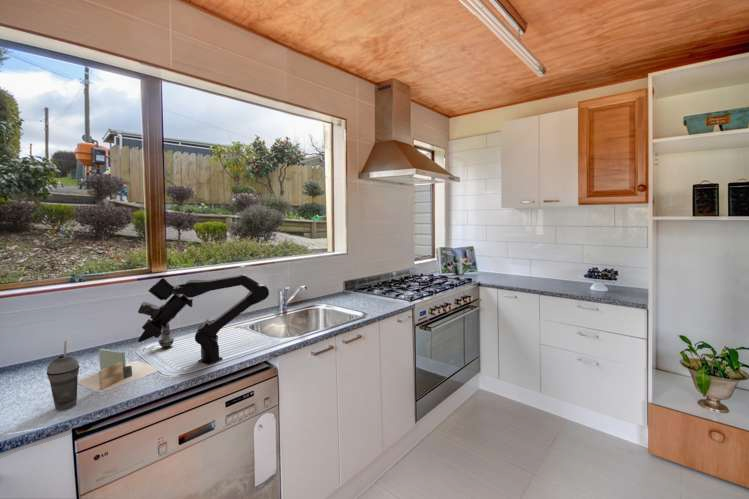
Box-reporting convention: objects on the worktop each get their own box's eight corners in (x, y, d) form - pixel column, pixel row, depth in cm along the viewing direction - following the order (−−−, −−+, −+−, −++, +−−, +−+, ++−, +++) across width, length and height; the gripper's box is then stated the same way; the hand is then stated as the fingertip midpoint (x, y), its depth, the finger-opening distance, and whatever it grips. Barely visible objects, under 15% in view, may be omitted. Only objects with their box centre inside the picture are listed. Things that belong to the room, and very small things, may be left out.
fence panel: (125, 374, 126) (124, 352, 125) (123, 375, 125) (121, 353, 124) (103, 370, 129) (101, 348, 128) (100, 371, 128) (99, 349, 127)
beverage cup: (62, 401, 108) (57, 337, 106) (88, 400, 108) (83, 336, 107) (42, 415, 100) (36, 346, 99) (70, 413, 101) (64, 345, 99)
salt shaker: (167, 351, 149) (165, 323, 148) (155, 350, 150) (153, 322, 149) (177, 346, 154) (176, 319, 153) (166, 345, 156) (164, 318, 154)
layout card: (162, 369, 130) (162, 369, 130) (99, 393, 113) (99, 392, 113) (135, 361, 138) (135, 360, 138) (73, 381, 121) (73, 380, 121)
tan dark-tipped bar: (128, 374, 126) (127, 357, 126) (133, 375, 126) (132, 358, 125) (98, 388, 115) (97, 370, 115) (104, 389, 115) (102, 371, 114)
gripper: (157, 289, 138) (126, 320, 135) (147, 300, 121) (111, 335, 118) (181, 307, 142) (151, 338, 139) (175, 320, 125) (140, 355, 122)
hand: (139, 341), depth 129 cm, fingers closed
